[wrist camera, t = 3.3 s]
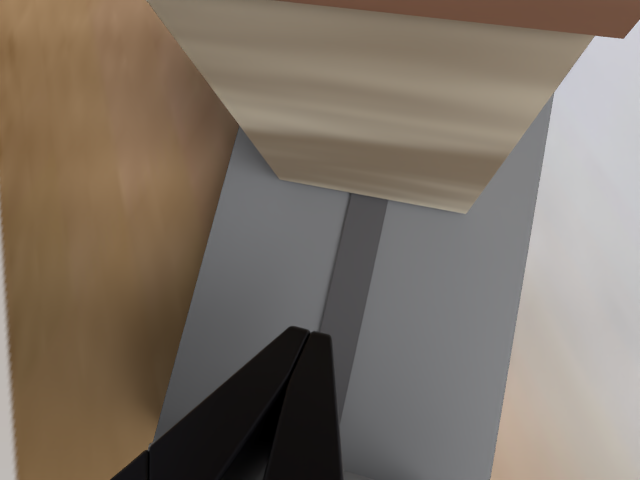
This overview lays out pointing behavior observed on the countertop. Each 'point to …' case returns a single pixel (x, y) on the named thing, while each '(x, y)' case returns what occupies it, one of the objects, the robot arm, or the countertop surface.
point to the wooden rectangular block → (389, 83)
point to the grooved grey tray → (371, 307)
